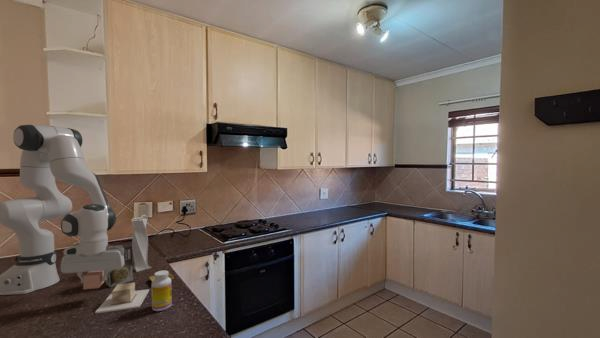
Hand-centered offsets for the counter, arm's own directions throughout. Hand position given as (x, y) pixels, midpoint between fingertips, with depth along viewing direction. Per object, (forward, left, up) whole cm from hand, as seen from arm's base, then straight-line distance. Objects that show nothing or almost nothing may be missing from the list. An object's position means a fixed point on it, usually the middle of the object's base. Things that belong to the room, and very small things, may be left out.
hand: (93, 281), depth 106 cm
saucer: (+22, +11, -8) cm, 26 cm away
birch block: (+12, -5, -7) cm, 14 cm away
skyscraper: (+9, +30, -8) cm, 33 cm away
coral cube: (0, 0, -2) cm, 2 cm away
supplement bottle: (+27, -14, -8) cm, 31 cm away
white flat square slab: (+12, -5, -7) cm, 15 cm away
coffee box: (+4, +15, -8) cm, 18 cm away
